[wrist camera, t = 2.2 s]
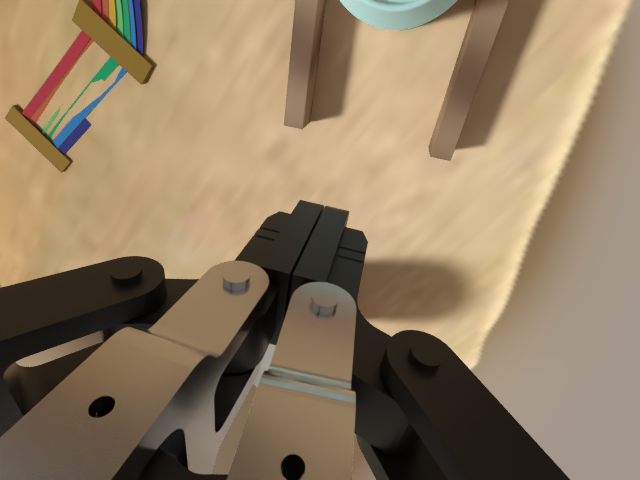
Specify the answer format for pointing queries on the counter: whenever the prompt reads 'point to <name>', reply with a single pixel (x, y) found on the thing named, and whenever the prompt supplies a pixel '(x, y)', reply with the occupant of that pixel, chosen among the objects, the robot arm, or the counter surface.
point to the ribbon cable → (124, 48)
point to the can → (397, 12)
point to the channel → (459, 90)
